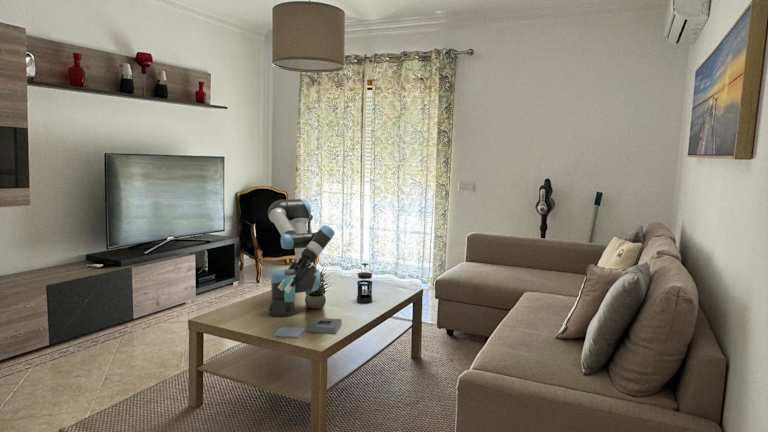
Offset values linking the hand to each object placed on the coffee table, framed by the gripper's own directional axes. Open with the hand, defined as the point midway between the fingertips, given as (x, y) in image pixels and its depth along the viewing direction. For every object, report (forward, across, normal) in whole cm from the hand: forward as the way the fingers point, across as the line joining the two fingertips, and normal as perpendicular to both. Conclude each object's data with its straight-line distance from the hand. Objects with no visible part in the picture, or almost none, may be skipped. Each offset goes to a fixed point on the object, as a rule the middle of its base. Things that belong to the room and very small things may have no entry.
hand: (283, 290), depth 254 cm
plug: (+1, 0, -7) cm, 7 cm away
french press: (-32, +19, -63) cm, 73 cm away
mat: (+13, 0, -18) cm, 22 cm away
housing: (+1, -5, -30) cm, 31 cm away
